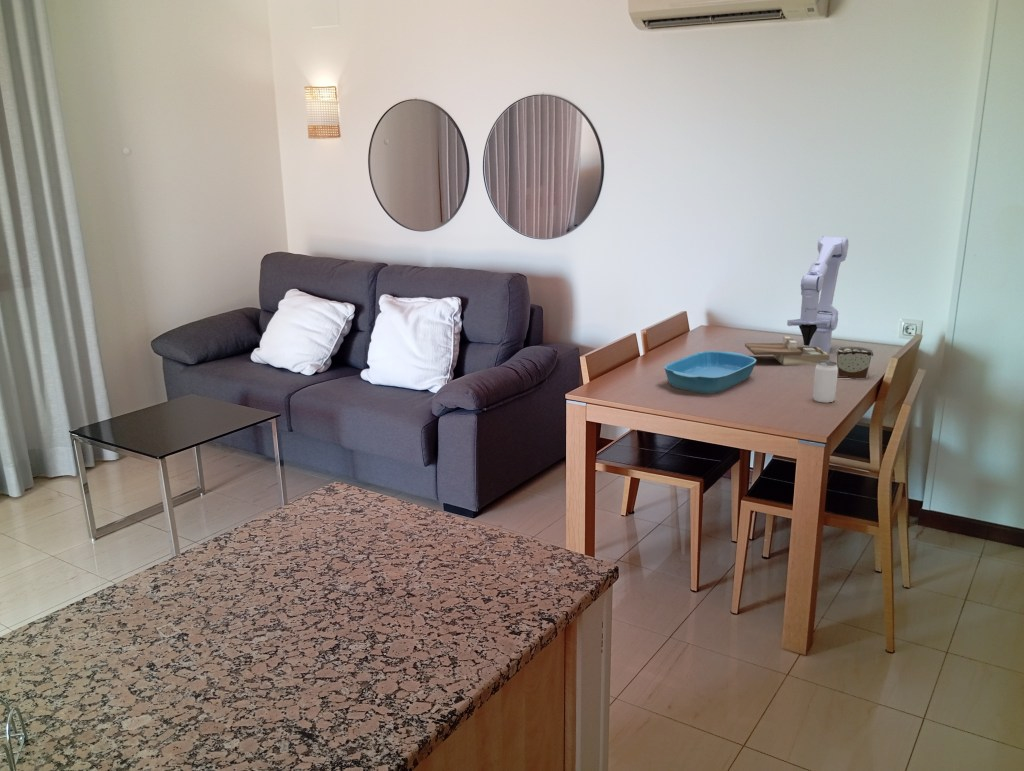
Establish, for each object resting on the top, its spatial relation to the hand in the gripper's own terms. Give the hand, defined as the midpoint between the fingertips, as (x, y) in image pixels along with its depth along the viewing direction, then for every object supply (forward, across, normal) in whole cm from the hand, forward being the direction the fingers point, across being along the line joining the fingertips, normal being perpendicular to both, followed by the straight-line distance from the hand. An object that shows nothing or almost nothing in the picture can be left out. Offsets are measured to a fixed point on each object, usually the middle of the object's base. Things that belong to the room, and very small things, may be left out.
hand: (806, 345), depth 293 cm
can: (+7, -8, -47) cm, 48 cm away
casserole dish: (+7, -39, -25) cm, 47 cm away
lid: (+2, -12, 0) cm, 12 cm away
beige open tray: (+7, -2, 0) cm, 7 cm away
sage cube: (+6, +2, -3) cm, 7 cm away
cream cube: (+6, +2, +3) cm, 7 cm away
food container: (+7, +9, -19) cm, 22 cm away
